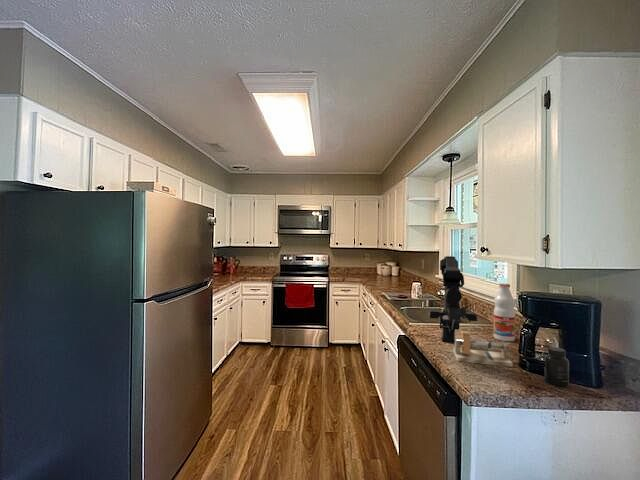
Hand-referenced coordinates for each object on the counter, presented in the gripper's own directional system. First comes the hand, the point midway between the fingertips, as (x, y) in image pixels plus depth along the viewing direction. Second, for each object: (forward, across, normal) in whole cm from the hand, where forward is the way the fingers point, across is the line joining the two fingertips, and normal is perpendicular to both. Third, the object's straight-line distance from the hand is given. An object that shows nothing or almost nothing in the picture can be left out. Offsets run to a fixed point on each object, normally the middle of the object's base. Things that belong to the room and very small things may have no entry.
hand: (451, 335), depth 134 cm
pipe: (+4, +11, 0) cm, 12 cm away
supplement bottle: (+9, +32, -18) cm, 37 cm away
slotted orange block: (+6, +5, 0) cm, 8 cm away
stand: (+9, +11, 0) cm, 14 cm away
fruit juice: (+9, +29, +34) cm, 46 cm away
